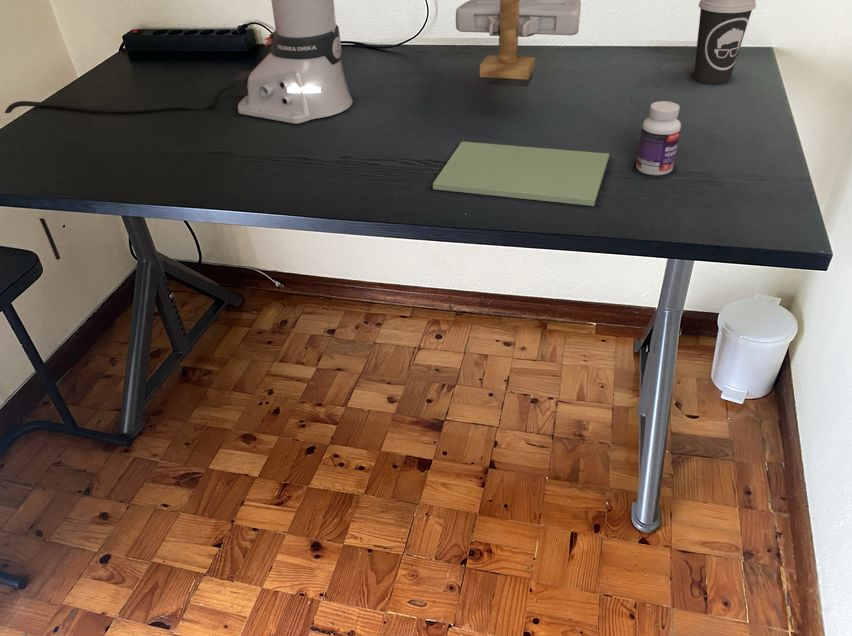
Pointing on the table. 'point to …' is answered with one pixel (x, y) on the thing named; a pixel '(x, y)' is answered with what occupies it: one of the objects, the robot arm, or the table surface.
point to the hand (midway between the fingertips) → (507, 31)
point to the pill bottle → (659, 139)
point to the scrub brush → (507, 53)
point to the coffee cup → (720, 38)
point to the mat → (524, 173)
